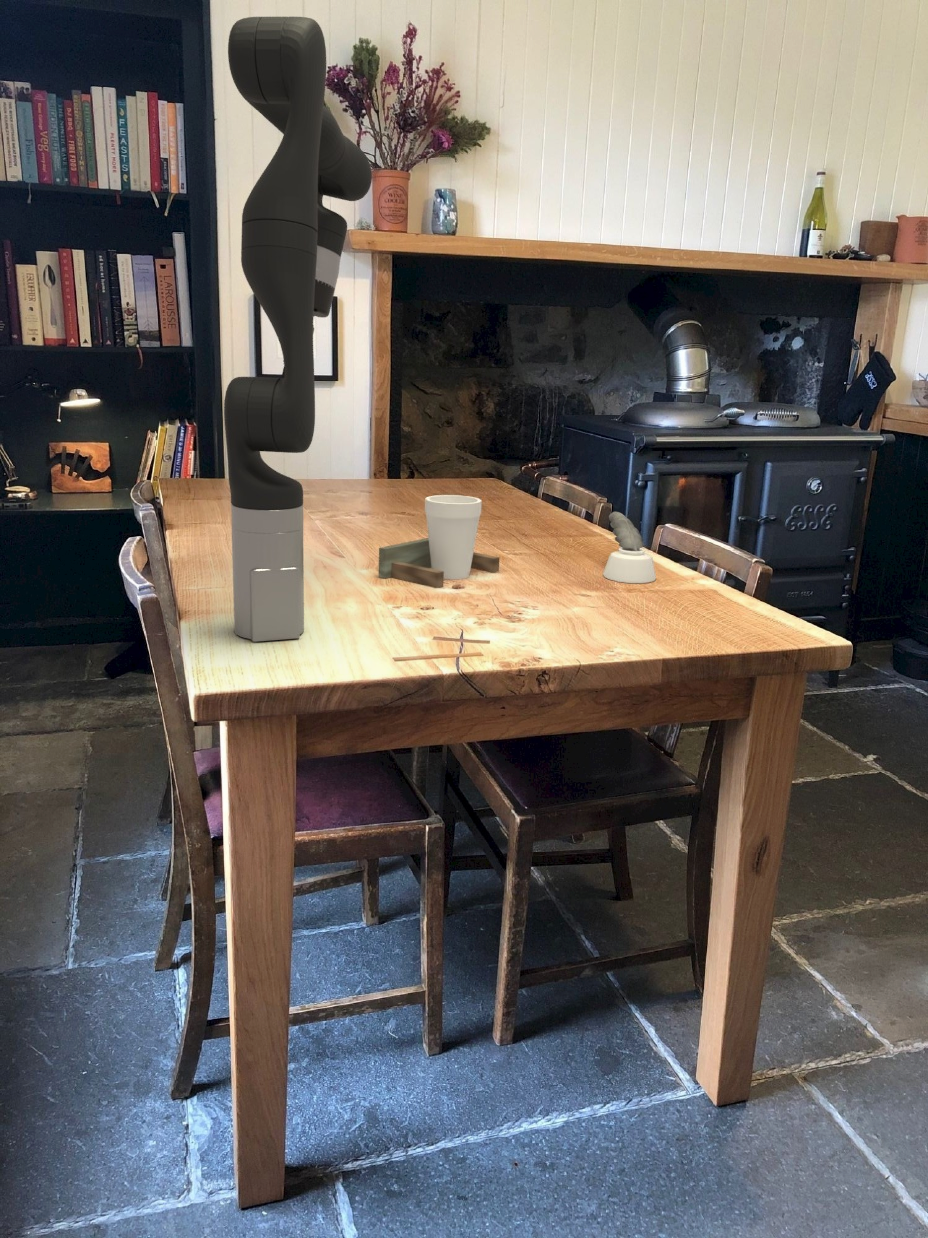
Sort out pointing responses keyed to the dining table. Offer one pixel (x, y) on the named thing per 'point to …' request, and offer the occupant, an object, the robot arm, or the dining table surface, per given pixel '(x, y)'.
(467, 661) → the dining table surface
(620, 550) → the inkwell
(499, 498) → the dining table surface
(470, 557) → the foam cup
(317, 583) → the dining table surface
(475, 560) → the dock
